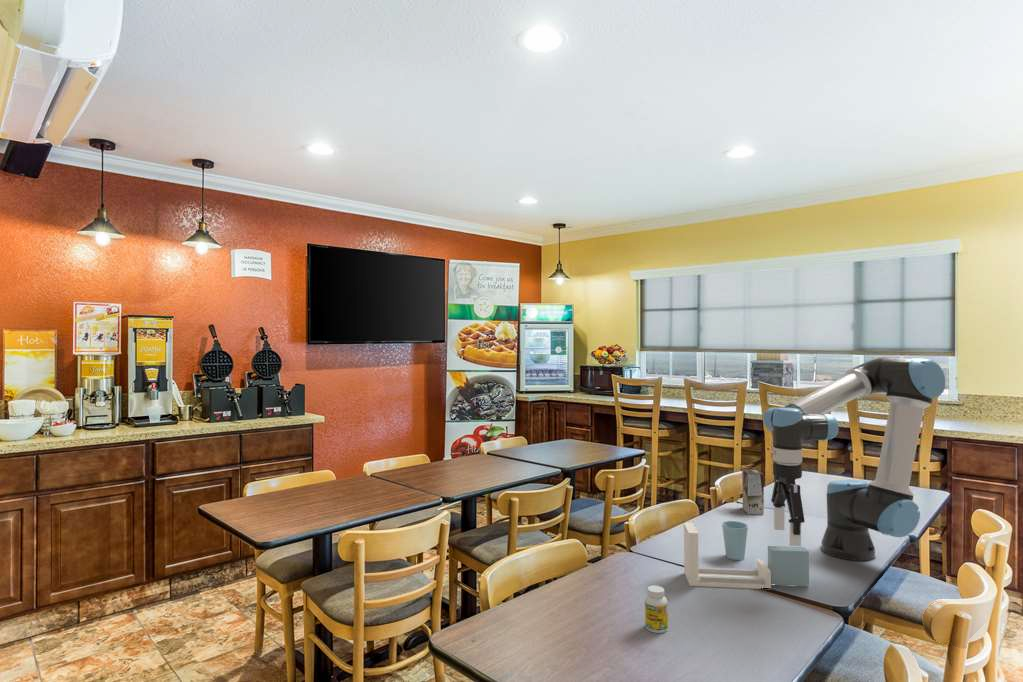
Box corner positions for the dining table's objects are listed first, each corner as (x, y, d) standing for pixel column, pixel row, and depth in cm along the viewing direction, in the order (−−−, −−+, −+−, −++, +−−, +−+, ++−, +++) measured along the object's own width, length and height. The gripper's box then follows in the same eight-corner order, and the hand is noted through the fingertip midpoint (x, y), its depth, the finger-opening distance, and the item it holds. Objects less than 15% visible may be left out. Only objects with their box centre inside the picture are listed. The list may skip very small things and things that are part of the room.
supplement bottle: (669, 624, 144) (668, 586, 144) (666, 635, 139) (666, 595, 139) (646, 621, 146) (646, 582, 146) (643, 631, 141) (643, 591, 141)
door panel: (804, 581, 168) (804, 547, 168) (809, 587, 164) (808, 551, 164) (767, 580, 169) (767, 545, 169) (771, 585, 166) (771, 550, 166)
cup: (753, 559, 185) (753, 526, 185) (735, 563, 182) (734, 529, 182) (735, 551, 192) (735, 519, 192) (717, 555, 189) (717, 523, 189)
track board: (761, 576, 172) (761, 525, 172) (771, 589, 163) (770, 535, 163) (684, 573, 175) (683, 522, 175) (689, 585, 166) (689, 532, 166)
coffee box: (764, 515, 230) (764, 474, 230) (747, 514, 231) (747, 473, 231) (758, 508, 239) (757, 468, 239) (741, 507, 240) (741, 468, 240)
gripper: (760, 453, 179) (760, 523, 179) (788, 472, 155) (787, 552, 155) (786, 454, 178) (786, 524, 178) (818, 473, 154) (817, 553, 154)
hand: (786, 537), depth 167 cm, fingers open, 13 cm apart
